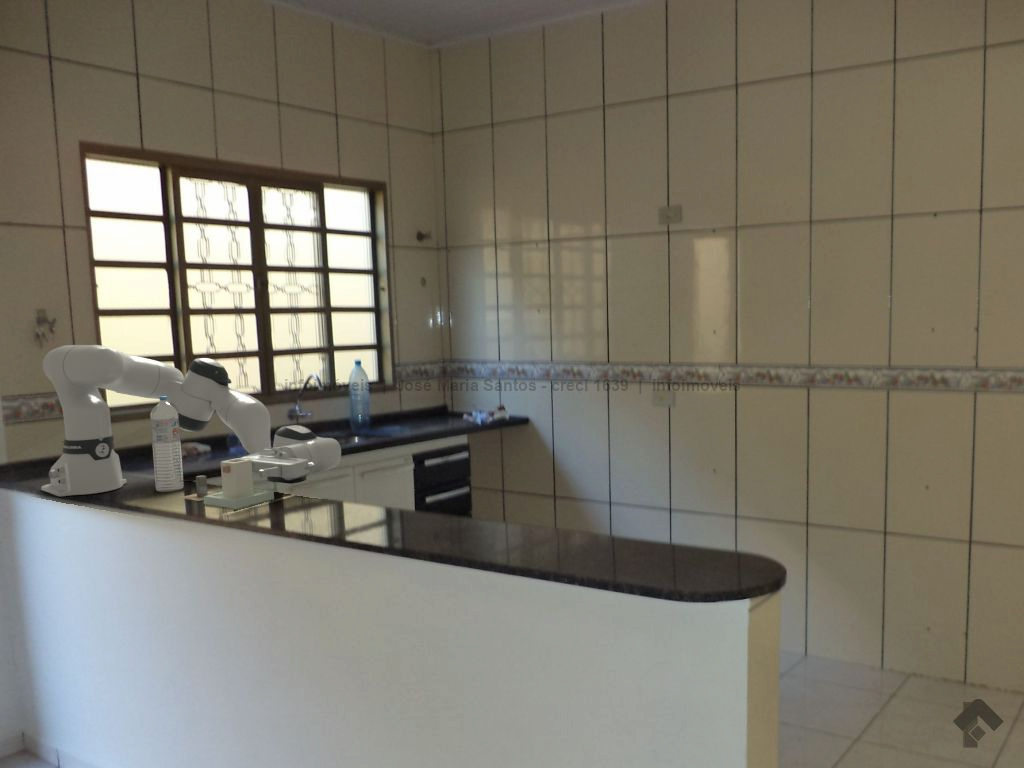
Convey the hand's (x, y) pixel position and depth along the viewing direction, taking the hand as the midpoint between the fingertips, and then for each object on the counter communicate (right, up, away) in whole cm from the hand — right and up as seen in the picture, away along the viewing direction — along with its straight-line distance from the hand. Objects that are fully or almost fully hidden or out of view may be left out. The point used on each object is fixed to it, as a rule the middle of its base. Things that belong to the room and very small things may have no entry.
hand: (248, 472), depth 203 cm
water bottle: (-26, -7, +16) cm, 31 cm away
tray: (-2, -7, -1) cm, 8 cm away
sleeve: (-2, -7, -2) cm, 7 cm away
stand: (-13, -7, +6) cm, 16 cm away
